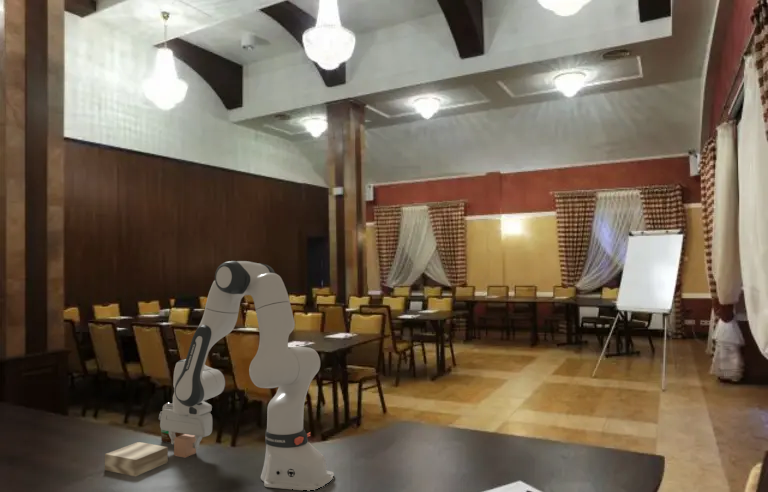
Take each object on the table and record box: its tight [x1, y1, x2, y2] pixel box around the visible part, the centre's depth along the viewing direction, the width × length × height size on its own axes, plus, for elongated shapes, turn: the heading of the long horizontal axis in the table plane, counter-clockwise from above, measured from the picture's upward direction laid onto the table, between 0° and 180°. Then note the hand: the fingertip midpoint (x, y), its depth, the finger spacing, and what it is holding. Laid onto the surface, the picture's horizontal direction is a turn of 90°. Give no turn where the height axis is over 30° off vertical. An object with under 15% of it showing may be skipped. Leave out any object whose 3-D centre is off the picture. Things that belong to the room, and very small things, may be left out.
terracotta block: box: [173, 434, 197, 458], centre depth 184 cm, size 5×5×6 cm
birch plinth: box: [104, 441, 169, 477], centre depth 172 cm, size 13×13×5 cm
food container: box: [158, 410, 183, 444], centre depth 198 cm, size 12×6×10 cm, turn 62°
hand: (185, 446), depth 184 cm, fingers open, 8 cm apart
